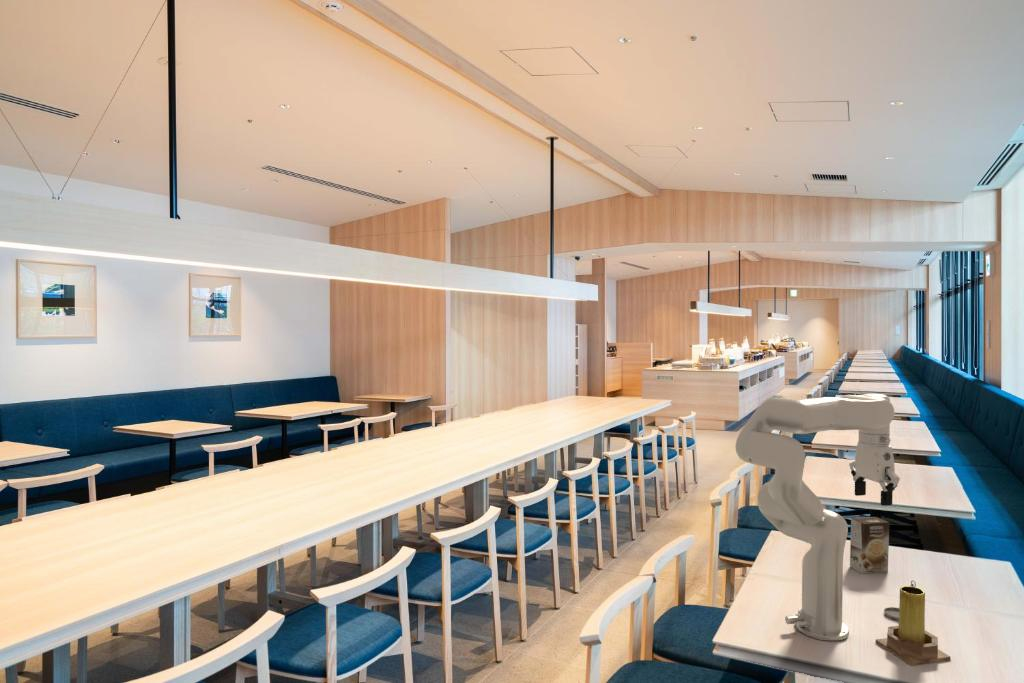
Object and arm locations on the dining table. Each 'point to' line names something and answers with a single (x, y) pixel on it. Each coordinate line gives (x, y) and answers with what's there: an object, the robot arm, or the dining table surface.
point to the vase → (912, 615)
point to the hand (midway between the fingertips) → (872, 500)
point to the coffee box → (869, 544)
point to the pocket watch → (894, 610)
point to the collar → (913, 648)
